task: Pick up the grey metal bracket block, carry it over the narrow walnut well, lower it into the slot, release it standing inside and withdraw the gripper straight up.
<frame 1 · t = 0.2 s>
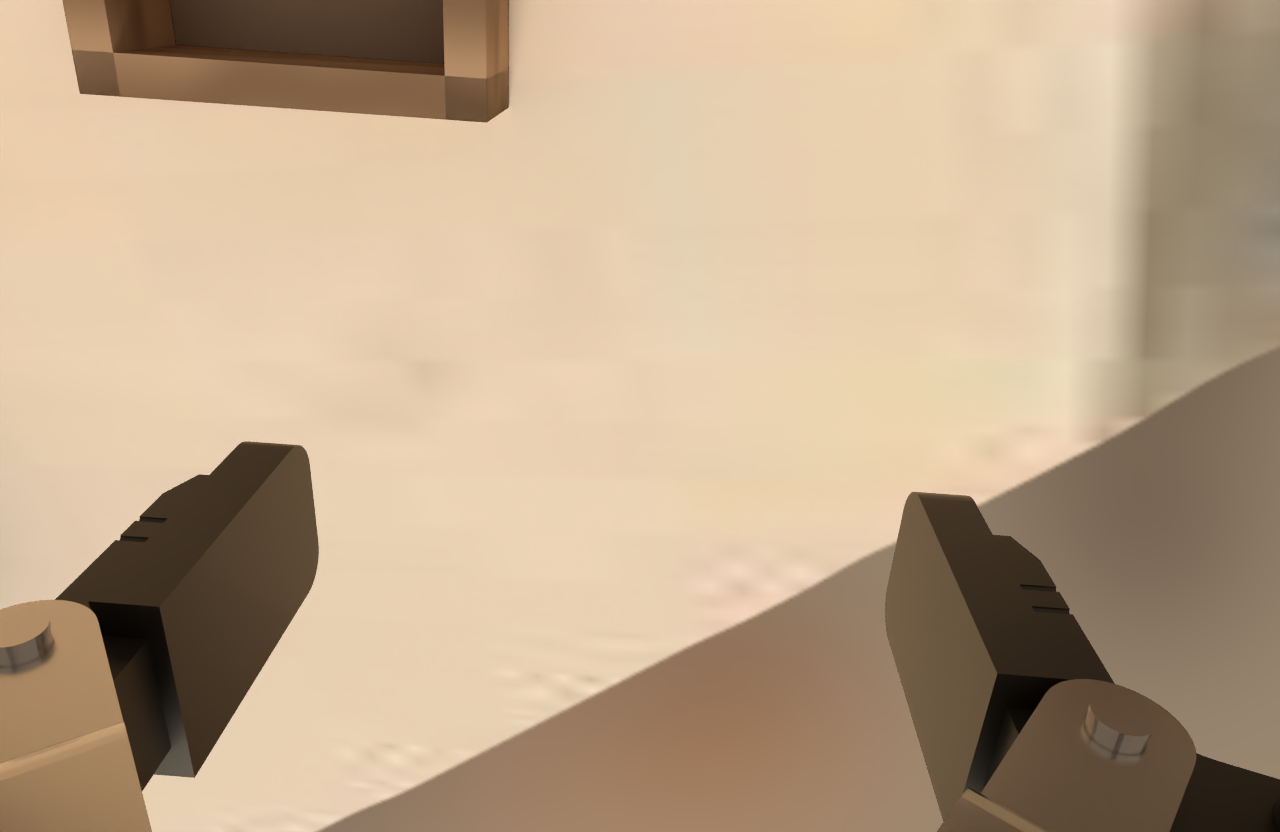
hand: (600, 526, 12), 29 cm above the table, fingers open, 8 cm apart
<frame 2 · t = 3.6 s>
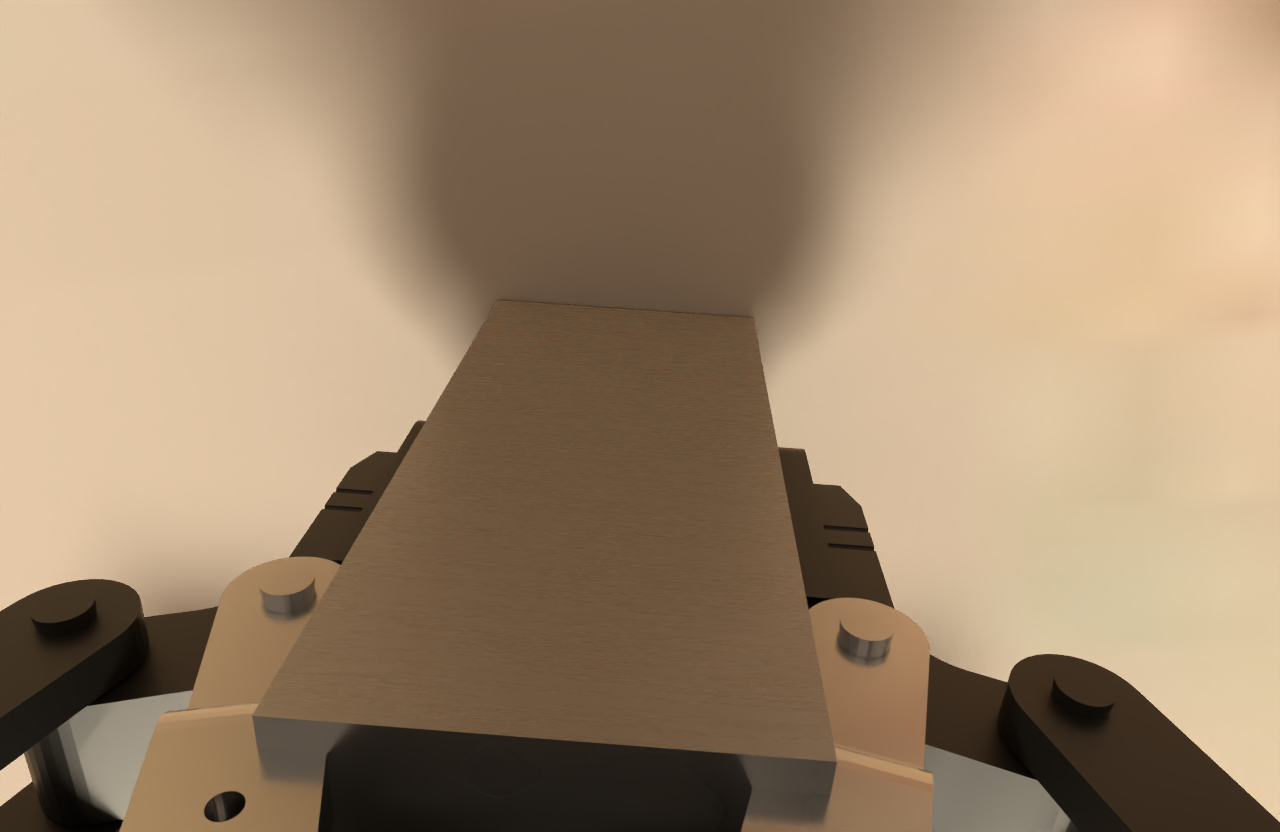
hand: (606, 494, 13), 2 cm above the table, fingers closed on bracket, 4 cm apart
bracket: (618, 423, 15), on the table, touching gripper
when the fingers open (4 cm above the table, at t = 8.0 s): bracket drops 1 cm, resting in well.
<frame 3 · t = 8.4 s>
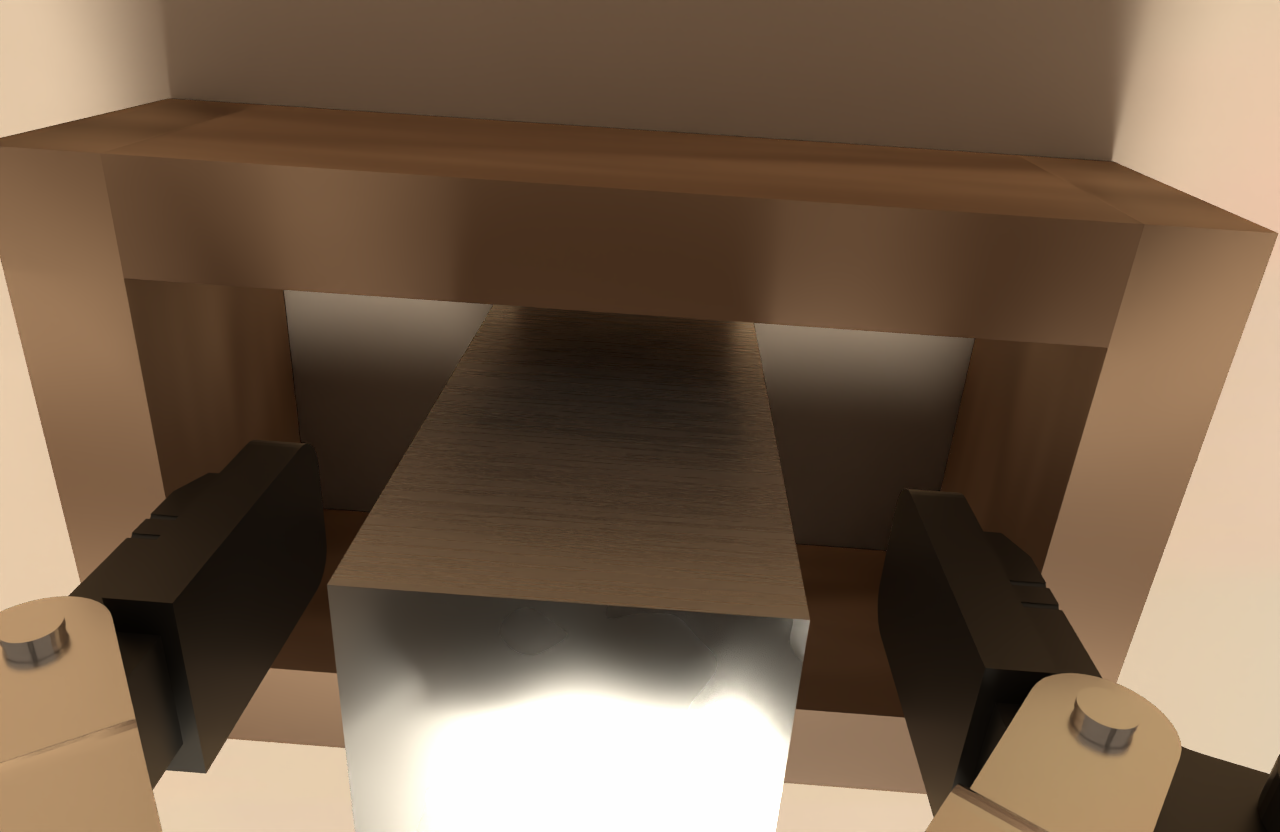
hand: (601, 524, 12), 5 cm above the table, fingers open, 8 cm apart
well: (622, 389, 17), on the table
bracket: (624, 387, 17), resting in well
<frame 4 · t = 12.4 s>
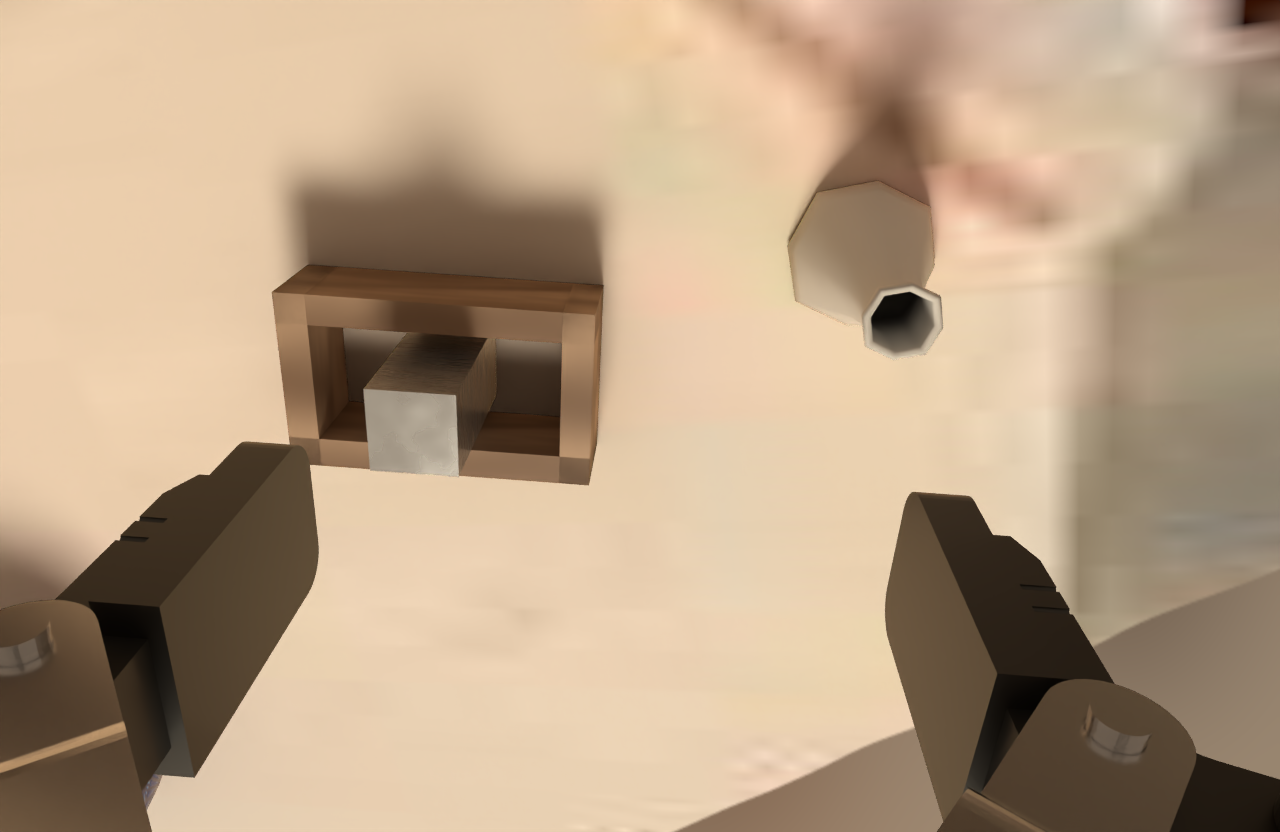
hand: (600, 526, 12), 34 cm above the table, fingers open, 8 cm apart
flask: (859, 252, 45), on the table
well: (457, 357, 49), on the table
planter: (95, 721, 61), on the table
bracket: (458, 357, 49), resting in well
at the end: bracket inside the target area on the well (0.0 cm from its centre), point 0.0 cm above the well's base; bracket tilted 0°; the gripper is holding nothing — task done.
